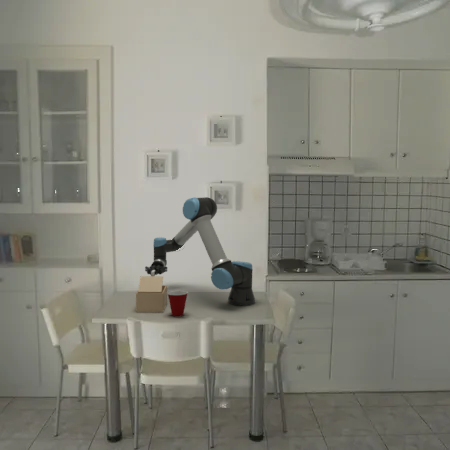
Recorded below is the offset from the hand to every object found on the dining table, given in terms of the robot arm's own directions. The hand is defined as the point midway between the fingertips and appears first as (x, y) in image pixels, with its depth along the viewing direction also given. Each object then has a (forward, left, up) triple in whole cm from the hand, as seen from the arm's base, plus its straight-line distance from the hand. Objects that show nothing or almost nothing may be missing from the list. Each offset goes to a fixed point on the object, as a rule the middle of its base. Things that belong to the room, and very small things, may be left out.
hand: (152, 274), depth 250 cm
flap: (-3, +10, -7) cm, 12 cm away
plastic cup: (-18, +10, -18) cm, 27 cm away
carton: (0, +1, -17) cm, 18 cm away
